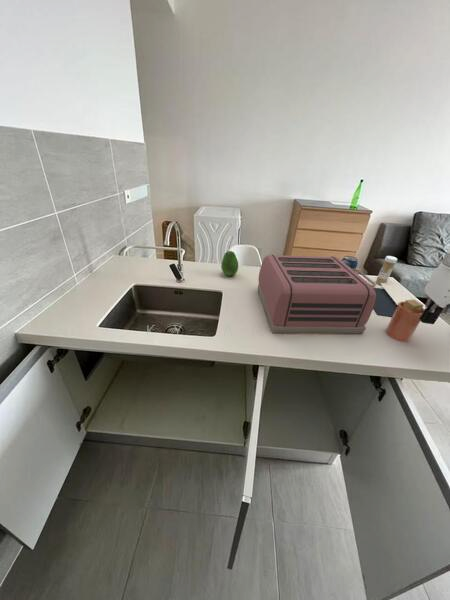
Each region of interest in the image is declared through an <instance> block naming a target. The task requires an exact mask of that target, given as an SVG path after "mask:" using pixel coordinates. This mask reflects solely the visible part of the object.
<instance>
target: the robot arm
mask: <svg viewBox="0 0 450 600" xmlns="http://www.w3.org/2000/svg"><path fill="white" fill-rule="evenodd" d="M423 291H424V293H425V294H424V296H425V297H426V303H425V305H424V307H425V308H424V309H425V310H424V312H423V313H422V315H421V317H420V318H419V319H420V320H421V322H420V323H422V324H427V325H434V324H435V323H436V322H437V320H438V318H439V317H440V315H443V314H444V315H448V316H450V247H449V248H448V249H447V252H446V253H445V255H444V257H443V259H442V260H441V261H440V264H439V265H438V266H437V267H436V269H435V270H434V272H433V273H432V274H431V276H430V278H429V279H428V281H427V282H426V285H425V287H424V290H423Z"/></svg>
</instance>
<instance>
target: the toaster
mask: <svg viewBox="0 0 450 600" xmlns="http://www.w3.org/2000/svg"><path fill="white" fill-rule="evenodd" d="M341 260H342V259H340V258H339V257H337V256H315V255H285V254H284V255H282V254H281V255H280V254H268V255H266V256H265V257H264V258H263V259H262V263H261V265H260V268H259V273H258V278H257V279H258V285H257V292H258V294H259V297H260V301H261V304H262V306H263V310H264V312H265V315H266V318H267V322H268V324H269V327H270V330H271V333H272V334H363V333H364V332H365V331H366V328H367V327H366V326H365V325H366V324H367V323H368V321H370V317H371V316H372V313H373V311H374V309H373V307H374V304H375V299H376V293H375V290H374V288H376V285H377V283H376V282H374V281H373V280H372V279H371V278H370V277H368V276H367V275H365V273H363V272H362V271H361V270H359V269H358V268H356V269H352V268H350V267H349V266H347V265H346V264H345V263H344V262H343V261H341ZM364 278H365V279H364ZM367 281H368V282H367ZM369 282H370V283H369ZM373 287H374V288H373Z"/></svg>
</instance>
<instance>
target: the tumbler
mask: <svg viewBox="0 0 450 600" xmlns="http://www.w3.org/2000/svg"><path fill="white" fill-rule="evenodd" d="M404 303H405V301H400V302H398V303H397V308H396V310H395V312H394V314H393V316H392V317H390V320H389V322H388V324H387V325H386V328H385V333H386V335H388V336H389V337H390V338H392V339H393V340H396V341H399V342H409V341H410V340H411V339H412V337H413V335H414V333H415V332H416V330H417V328H418V327H419V325H420V324H421V323H422V322H421V320H420V319H419V318H420V317H421V315H422V313H423V312H424V310H425V308H424V307H422V309H421V311H420V313H413V312H410V311H407V310H405V309H404V308H402V307H403V305H404Z"/></svg>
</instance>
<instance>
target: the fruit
mask: <svg viewBox="0 0 450 600" xmlns="http://www.w3.org/2000/svg"><path fill="white" fill-rule="evenodd" d="M220 267H221V271H222V273H223V274H224V275H225V276H227V277H233V276H235V275H236V274H237V273H238V271H239V260H238V259H237V255H236V253H235V252H234V251H232V250H227V251H226V252H225V253H224V255H223V258H222V260H221V265H220Z"/></svg>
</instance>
